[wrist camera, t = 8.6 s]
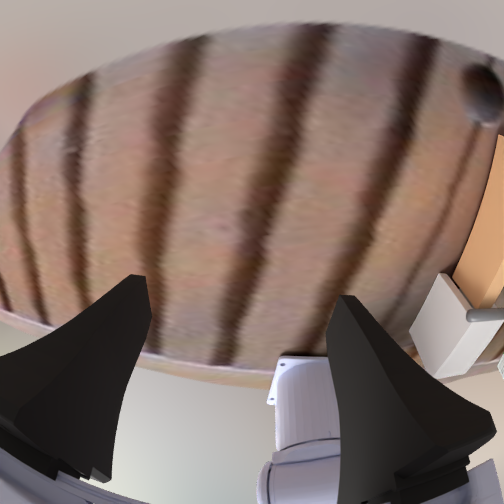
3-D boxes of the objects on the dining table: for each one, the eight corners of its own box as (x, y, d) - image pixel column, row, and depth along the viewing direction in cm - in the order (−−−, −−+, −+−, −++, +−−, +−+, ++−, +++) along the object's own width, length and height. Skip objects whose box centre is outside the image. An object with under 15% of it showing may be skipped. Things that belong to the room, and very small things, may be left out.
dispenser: (443, 329, 24) (466, 374, 19) (407, 330, 24) (428, 381, 19) (476, 269, 20) (511, 312, 15) (439, 266, 20) (476, 315, 15)
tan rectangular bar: (465, 278, 20) (490, 310, 16) (451, 277, 20) (476, 310, 16) (511, 142, 13) (549, 159, 10) (498, 134, 13) (538, 150, 10)
